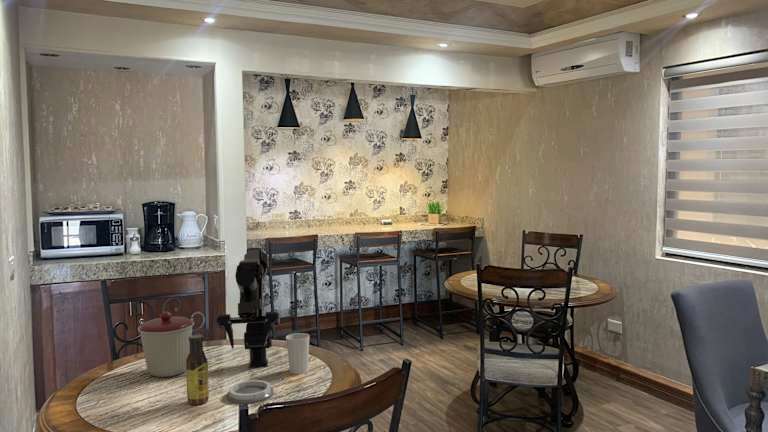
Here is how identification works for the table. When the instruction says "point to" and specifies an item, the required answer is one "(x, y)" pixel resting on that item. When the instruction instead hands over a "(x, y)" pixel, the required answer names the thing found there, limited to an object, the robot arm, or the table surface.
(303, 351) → the cup
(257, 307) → the robot arm
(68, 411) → the table surface
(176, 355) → the canister
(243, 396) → the grey shallow dish
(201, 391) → the sauce bottle
